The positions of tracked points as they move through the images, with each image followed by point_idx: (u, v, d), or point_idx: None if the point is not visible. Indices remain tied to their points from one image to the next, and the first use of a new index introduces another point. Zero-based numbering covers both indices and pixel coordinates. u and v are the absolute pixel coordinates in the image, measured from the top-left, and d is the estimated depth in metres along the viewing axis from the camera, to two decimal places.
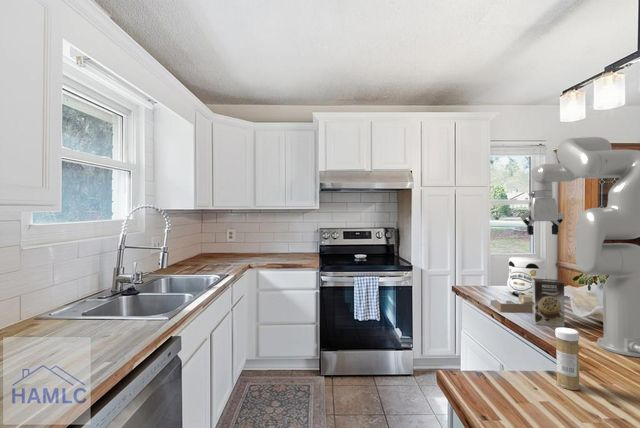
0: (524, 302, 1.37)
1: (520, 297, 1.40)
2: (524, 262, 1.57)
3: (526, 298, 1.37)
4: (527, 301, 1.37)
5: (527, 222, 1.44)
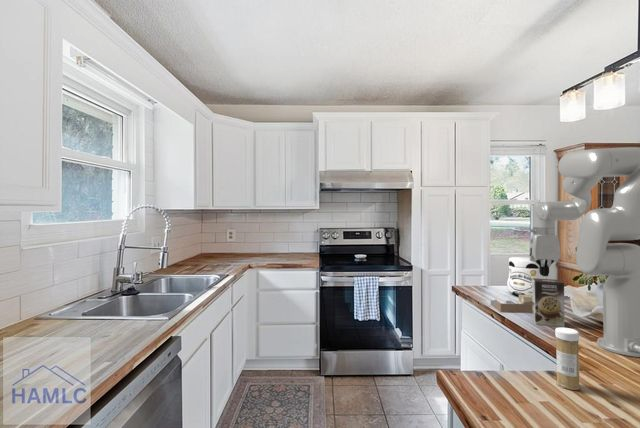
0: (524, 302, 1.37)
1: (520, 297, 1.40)
2: (524, 262, 1.57)
3: (526, 298, 1.37)
4: (527, 301, 1.37)
5: (540, 261, 1.38)
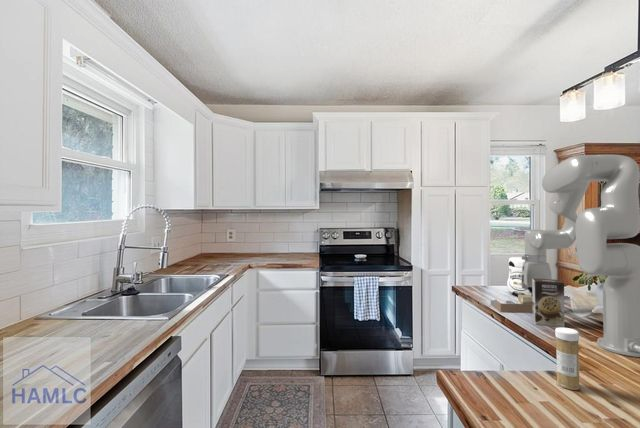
0: (523, 302, 1.37)
1: (519, 297, 1.40)
2: None
3: (525, 298, 1.37)
4: (526, 301, 1.37)
5: None
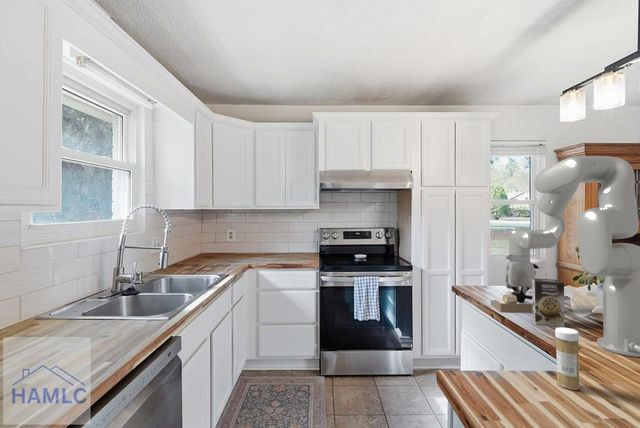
0: (507, 302, 1.38)
1: (504, 297, 1.41)
2: None
3: (509, 298, 1.38)
4: (510, 300, 1.38)
5: None
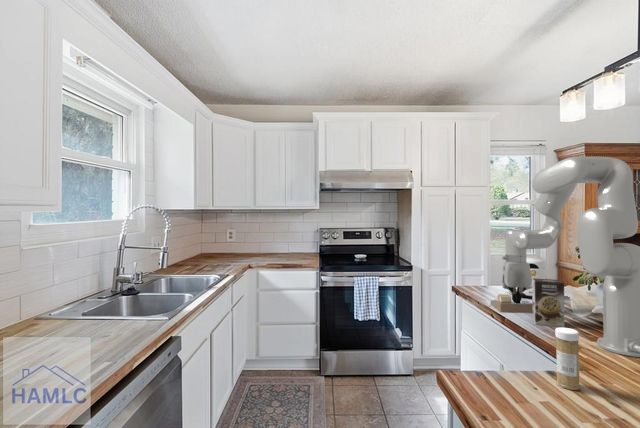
0: (501, 302, 1.39)
1: (498, 296, 1.41)
2: None
3: (504, 297, 1.39)
4: (505, 300, 1.39)
5: (512, 288, 1.39)
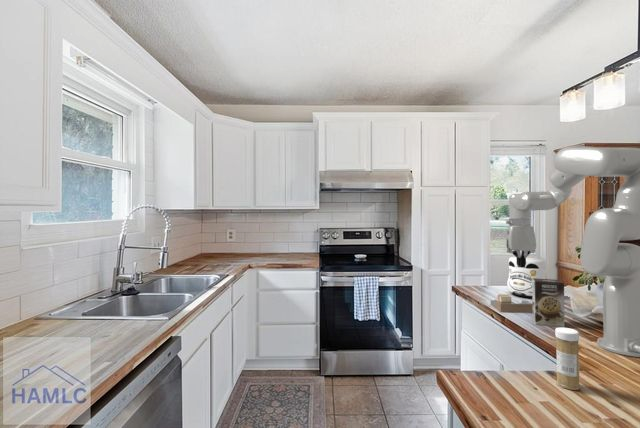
0: (501, 302, 1.39)
1: (498, 296, 1.41)
2: None
3: (504, 297, 1.39)
4: (505, 300, 1.39)
5: None
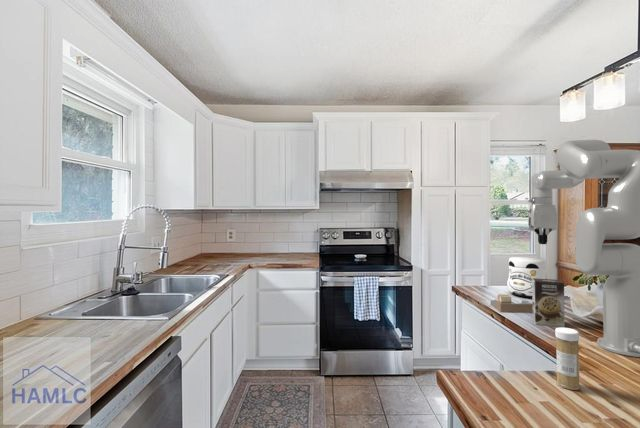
0: (501, 302, 1.39)
1: (498, 296, 1.41)
2: (524, 262, 1.57)
3: (504, 297, 1.39)
4: (505, 300, 1.39)
5: (539, 230, 1.43)
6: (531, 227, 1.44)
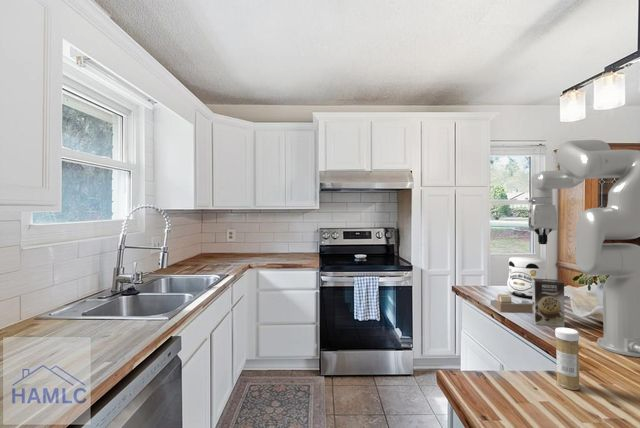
0: (501, 302, 1.39)
1: (498, 296, 1.41)
2: (524, 262, 1.57)
3: (504, 297, 1.39)
4: (505, 300, 1.39)
5: (539, 230, 1.43)
6: (531, 227, 1.44)
